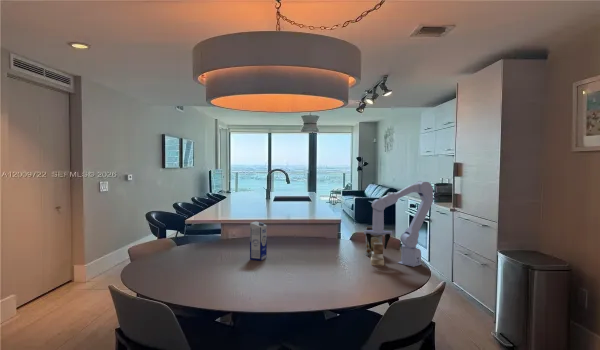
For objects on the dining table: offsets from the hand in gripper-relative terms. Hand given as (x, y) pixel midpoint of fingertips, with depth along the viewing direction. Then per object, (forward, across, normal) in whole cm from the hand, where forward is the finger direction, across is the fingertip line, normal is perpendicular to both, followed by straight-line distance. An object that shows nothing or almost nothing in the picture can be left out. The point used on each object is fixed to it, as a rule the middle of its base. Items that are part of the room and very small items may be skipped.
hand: (377, 248), depth 190 cm
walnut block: (+2, 0, 0) cm, 2 cm away
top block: (+5, 0, 0) cm, 5 cm away
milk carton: (+8, -64, -1) cm, 64 cm away
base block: (+8, 0, 0) cm, 8 cm away
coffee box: (+8, -1, +20) cm, 21 cm away
